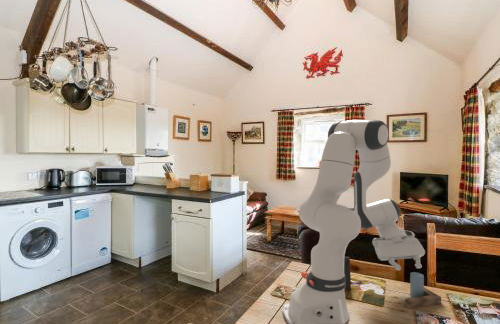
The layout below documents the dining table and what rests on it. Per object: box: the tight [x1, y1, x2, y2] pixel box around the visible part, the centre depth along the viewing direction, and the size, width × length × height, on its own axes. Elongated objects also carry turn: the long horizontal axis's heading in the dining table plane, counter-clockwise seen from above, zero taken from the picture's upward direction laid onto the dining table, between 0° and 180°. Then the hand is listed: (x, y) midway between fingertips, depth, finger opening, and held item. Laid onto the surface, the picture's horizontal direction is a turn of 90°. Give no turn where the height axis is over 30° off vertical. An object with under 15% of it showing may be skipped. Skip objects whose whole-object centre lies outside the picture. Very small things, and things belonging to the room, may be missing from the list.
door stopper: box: [344, 255, 352, 291], centre depth 115 cm, size 9×6×12 cm, turn 167°
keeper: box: [409, 271, 425, 298], centre depth 103 cm, size 4×4×9 cm
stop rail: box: [404, 287, 442, 309], centre depth 102 cm, size 14×8×2 cm, turn 101°
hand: (409, 268), depth 107 cm, fingers open, 8 cm apart
